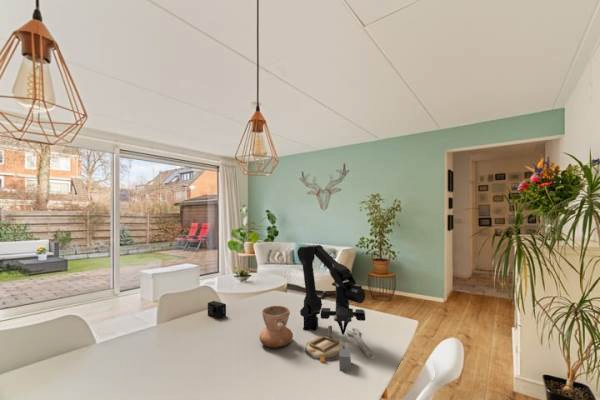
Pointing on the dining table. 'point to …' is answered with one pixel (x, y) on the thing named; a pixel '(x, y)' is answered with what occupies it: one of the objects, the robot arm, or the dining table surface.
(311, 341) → the index disc
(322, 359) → the turntable base
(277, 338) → the ceramic jug
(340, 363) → the link block
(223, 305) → the digital camera
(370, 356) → the adjustable wrench
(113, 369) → the dining table surface
